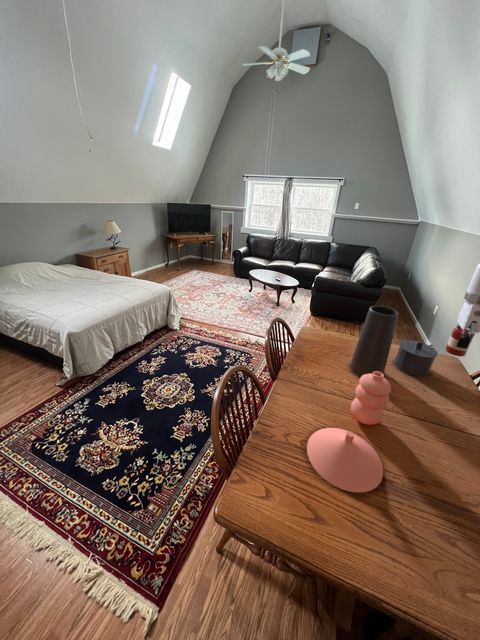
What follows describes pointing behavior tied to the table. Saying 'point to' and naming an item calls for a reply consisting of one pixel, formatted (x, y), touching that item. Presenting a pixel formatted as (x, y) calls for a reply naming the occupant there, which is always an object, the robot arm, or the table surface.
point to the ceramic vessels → (352, 441)
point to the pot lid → (418, 349)
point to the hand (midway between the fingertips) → (459, 342)
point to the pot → (413, 363)
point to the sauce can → (453, 341)
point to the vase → (374, 341)
